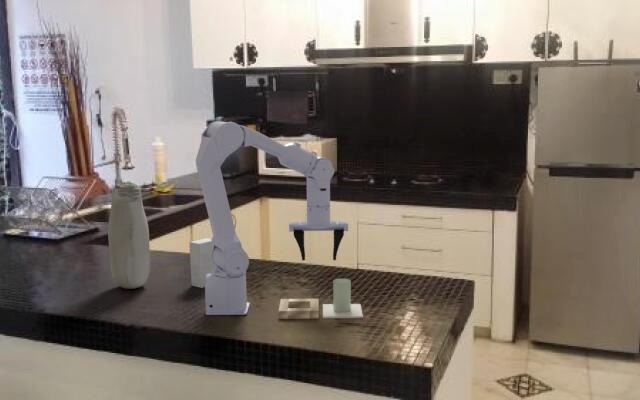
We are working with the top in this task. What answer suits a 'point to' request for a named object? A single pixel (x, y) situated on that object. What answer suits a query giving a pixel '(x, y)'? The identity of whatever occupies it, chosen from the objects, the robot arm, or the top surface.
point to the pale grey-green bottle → (128, 237)
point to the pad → (330, 313)
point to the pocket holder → (299, 308)
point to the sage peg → (342, 295)
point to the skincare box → (201, 261)
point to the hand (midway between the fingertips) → (319, 259)
